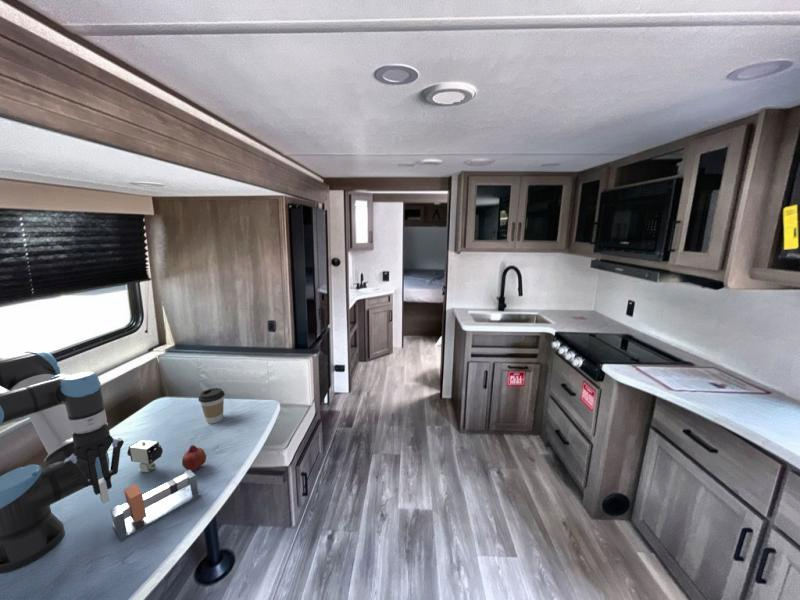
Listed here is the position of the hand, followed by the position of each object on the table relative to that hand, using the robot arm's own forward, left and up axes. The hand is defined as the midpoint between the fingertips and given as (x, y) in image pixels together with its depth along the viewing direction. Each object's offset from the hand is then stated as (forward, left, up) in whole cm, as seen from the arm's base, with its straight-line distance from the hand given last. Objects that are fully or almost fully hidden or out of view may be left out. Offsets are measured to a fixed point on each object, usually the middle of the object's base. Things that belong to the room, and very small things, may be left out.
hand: (105, 500), depth 98 cm
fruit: (+28, +13, -13) cm, 33 cm away
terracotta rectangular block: (+6, 0, -10) cm, 12 cm away
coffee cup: (+49, +45, -13) cm, 68 cm away
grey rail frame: (+12, 0, -13) cm, 17 cm away
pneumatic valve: (+17, +28, -13) cm, 35 cm away
